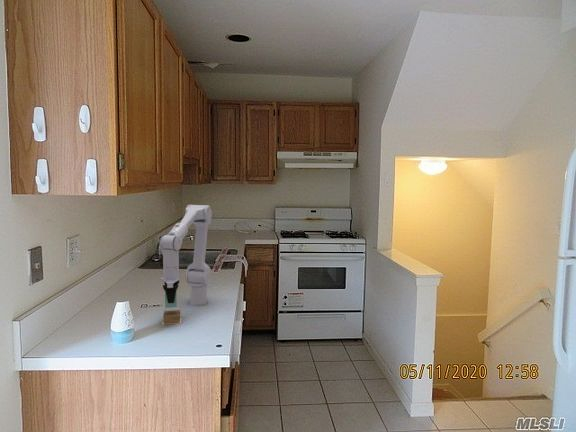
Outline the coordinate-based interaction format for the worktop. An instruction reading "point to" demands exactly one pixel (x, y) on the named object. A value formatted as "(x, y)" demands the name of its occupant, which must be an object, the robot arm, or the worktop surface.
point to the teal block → (170, 305)
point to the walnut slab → (171, 317)
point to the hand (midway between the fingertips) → (171, 301)
